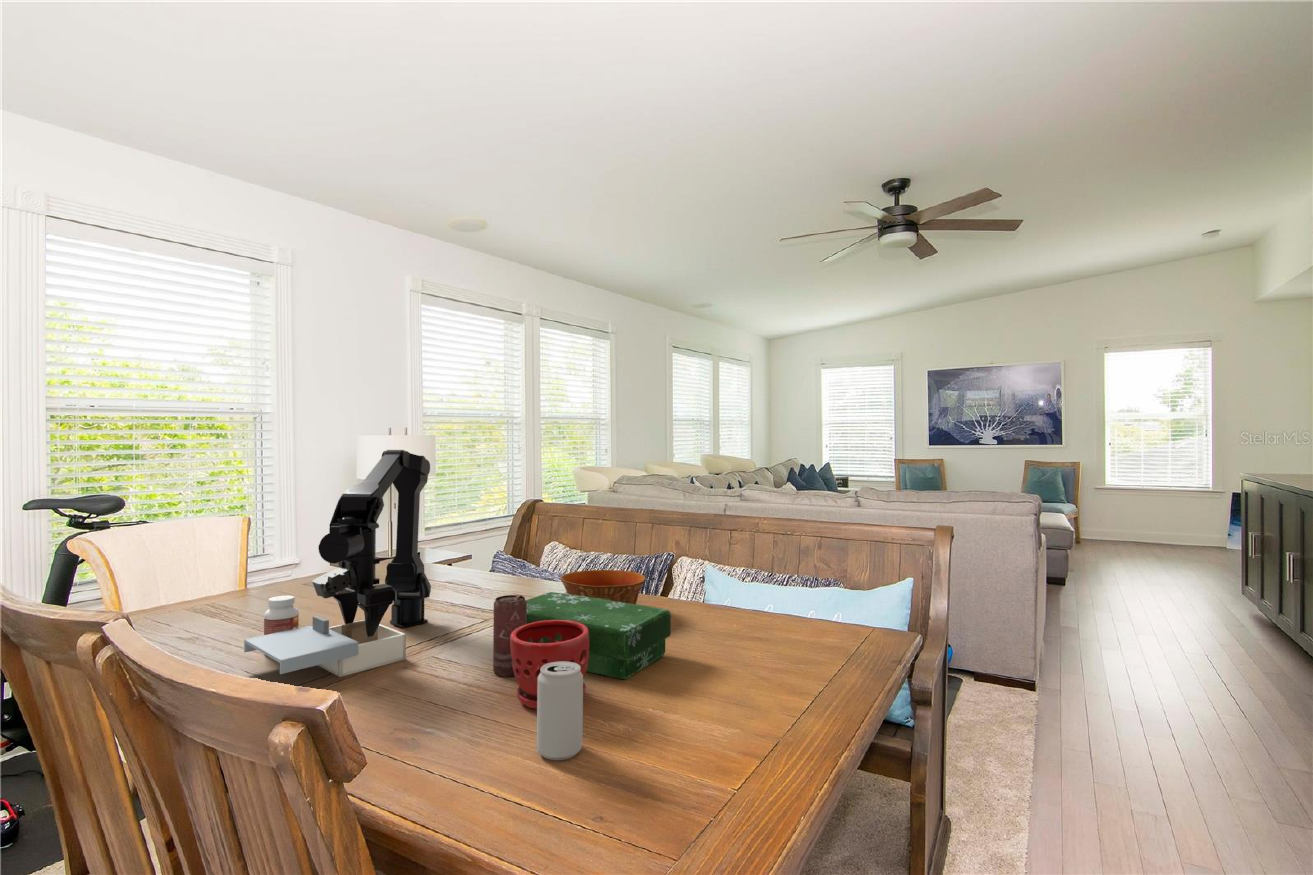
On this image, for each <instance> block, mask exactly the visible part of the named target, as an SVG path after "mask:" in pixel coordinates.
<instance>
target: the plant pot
mask: <svg viewBox="0 0 1313 875" xmlns="http://www.w3.org/2000/svg"><path fill="white" fill-rule="evenodd" d="M557 634H560V635H561V637H562V639H561V641H556V640H555V635H557ZM575 636H576V638H575ZM543 637H547V638H549V639H550V641H551V643H539V641H540V639H541V638H543ZM530 639H532V640H533V643H530V642H528V641H529V640H530ZM567 639H569V640H567ZM510 649H511V656H512V665H513V671H514V675H515V676H514V677H515V680H516V682H517V684H518V687H517V688H516V697H517V699H518V701H519V702H520V703H521V704H523V705H524V706H526V707H527V708H531V709H535V710H537V687H538V676H539V674H540V673H541V672H540V669H541V667H542V666H543V665H545V664H548V663H551V662H559V661H567V662H573V663H576V664H578V665H580V667H581V670H580V671H581V673H582V674H583V679H584V678H585V675H586V673H587V672H586V669H587V665H588V658H589V631H588V628H587V627H586V626H585V625H583V624H581V623H578V622H574V621H568V620H546V621H538V622H533V623H529V624H526V625H523V626H521V627H519V628H517V629H515V630H514V631H513V632H512V633H511V636H510ZM581 652H582V655H581ZM580 655H581V658H580ZM586 688H587V686H586V684H585V682H584V681H583V696H584V695H585V692H586Z"/></svg>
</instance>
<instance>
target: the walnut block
mask: <svg viewBox="0 0 1313 875" xmlns="http://www.w3.org/2000/svg"><path fill="white" fill-rule="evenodd" d="M343 624H344V625H342V624H341V625H342V635H344V636H346V637H348V638H351V639H353V640H355V641H357V642H358V644H363V643H367V642H371V641H375V640H378V628H377V630H376V632H375V634H374V636H371V637H368V636H367V631H366V623H365V619H363V621H361V620H358V622H356V621H354V622H353V623H348V624H345V623H343Z"/></svg>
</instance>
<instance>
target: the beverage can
mask: <svg viewBox="0 0 1313 875" xmlns="http://www.w3.org/2000/svg"><path fill="white" fill-rule="evenodd" d="M580 670H581V667H580V665H578V664H576V663H573V662H567V661H559V662H551V663H548V664H545V665H543V666H542V667H541V669H540V672H541V673H540V674H539V676H538V687H537V709H536V712H537V713H536V749H537V753H539V754H540V755H541V756H542V757H543V758H545V759H547V760H551V761H566V760H570V759H571V758H573V757H575V756H576V755H577V753H579V752H580V751H581V750H582V748H583V732H584V731H583V730H584V729H583V724H584V723H583V719H584V716H583V715H584V714H583V712H584V695H583V682H584V678H583V674H582V673H581V671H580Z"/></svg>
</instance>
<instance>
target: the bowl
mask: <svg viewBox="0 0 1313 875" xmlns="http://www.w3.org/2000/svg"><path fill="white" fill-rule="evenodd" d="M646 580H647V577H646V576H645V575H643V574H642V573H639V572H636V571H630V570H620V569H619V570H617V569H615V570H614V569H594V570H593V569H592V570H581V571H574V572H572V571H571V572H568V573H565V574H563V575H561V576H560V581H561V583H562V585H563V586H564V589H565V592H566V594H571V595H577V596H585V597H591V598H598V599H604V600H611V601H617V602H624V603H630V604H637V601H638V598H639V594H640V592H641V589H642V587H643V585H644V584H645V583H646Z"/></svg>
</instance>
